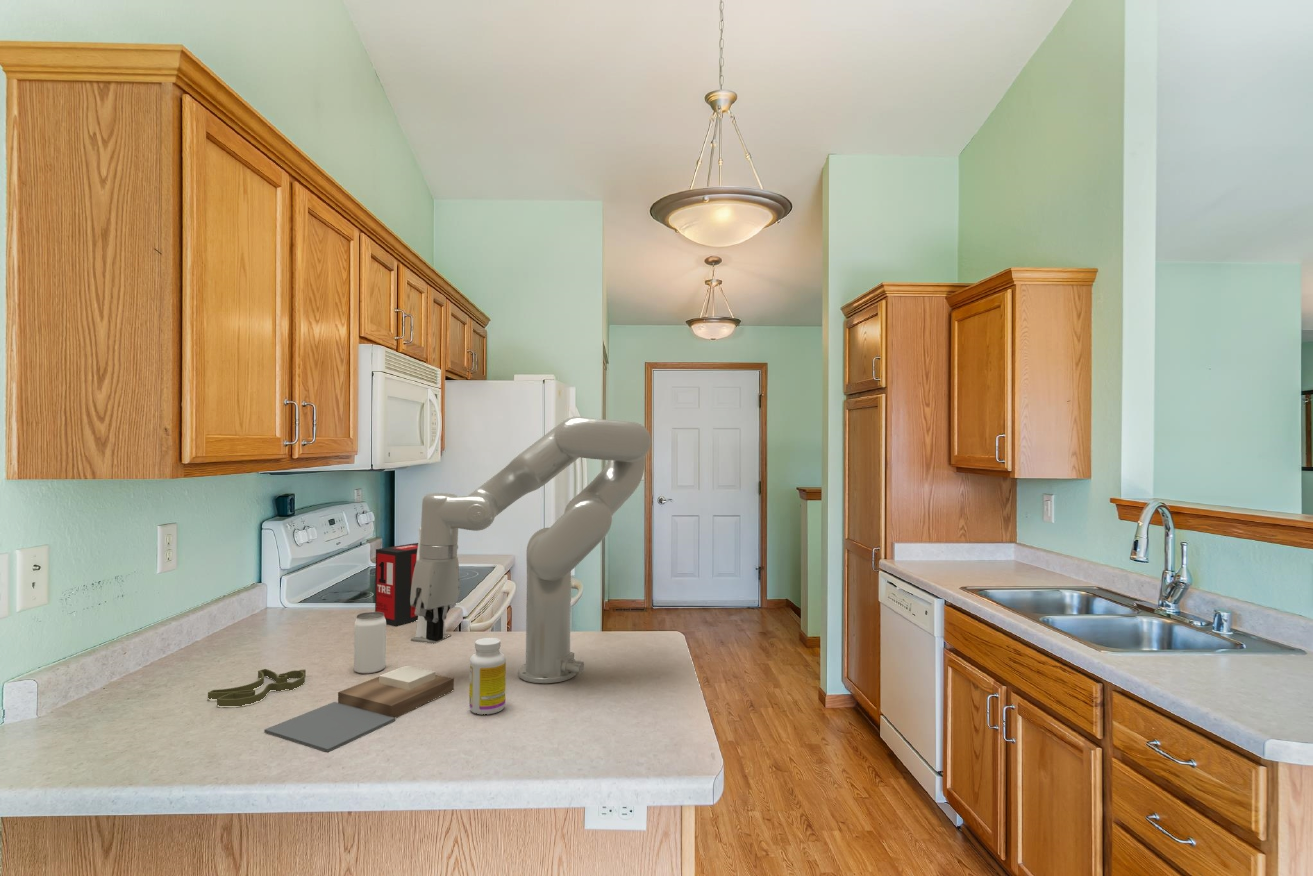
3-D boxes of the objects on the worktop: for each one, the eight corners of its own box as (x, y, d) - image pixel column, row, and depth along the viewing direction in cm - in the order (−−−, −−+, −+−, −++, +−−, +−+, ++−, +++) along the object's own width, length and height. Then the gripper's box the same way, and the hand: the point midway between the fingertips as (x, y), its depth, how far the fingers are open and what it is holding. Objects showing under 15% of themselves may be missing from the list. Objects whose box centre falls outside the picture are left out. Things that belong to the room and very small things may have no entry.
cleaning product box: (423, 609, 203) (424, 541, 203) (444, 613, 198) (445, 544, 198) (375, 621, 189) (375, 549, 189) (396, 626, 184) (397, 552, 184)
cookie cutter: (270, 674, 148) (270, 665, 148) (317, 680, 145) (318, 670, 145) (196, 706, 130) (196, 696, 130) (248, 713, 127) (248, 702, 127)
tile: (435, 678, 138) (435, 671, 138) (408, 690, 132) (408, 682, 132) (406, 672, 142) (406, 665, 142) (379, 683, 135) (379, 675, 135)
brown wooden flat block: (453, 690, 139) (453, 678, 139) (391, 719, 124) (391, 705, 124) (403, 679, 145) (403, 667, 145) (338, 705, 130) (338, 692, 130)
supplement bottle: (512, 706, 131) (513, 639, 131) (487, 718, 125) (488, 648, 125) (486, 699, 134) (487, 634, 134) (461, 711, 129) (462, 642, 129)
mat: (395, 720, 124) (395, 717, 124) (327, 752, 111) (327, 749, 111) (334, 704, 131) (334, 701, 131) (264, 732, 118) (264, 729, 118)
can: (374, 675, 147) (374, 619, 147) (347, 673, 148) (347, 617, 148) (391, 665, 153) (392, 612, 153) (365, 663, 154) (366, 610, 154)
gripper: (450, 546, 153) (446, 628, 153) (397, 554, 139) (393, 645, 139) (476, 550, 149) (472, 634, 149) (425, 559, 136) (421, 651, 136)
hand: (434, 639), depth 144 cm, fingers closed
